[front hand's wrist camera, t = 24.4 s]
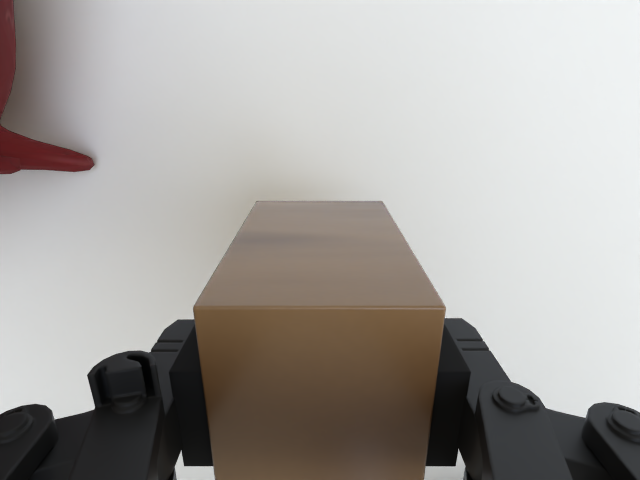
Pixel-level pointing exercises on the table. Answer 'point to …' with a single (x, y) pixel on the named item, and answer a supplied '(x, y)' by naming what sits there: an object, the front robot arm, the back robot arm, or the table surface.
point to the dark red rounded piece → (16, 150)
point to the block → (319, 347)
